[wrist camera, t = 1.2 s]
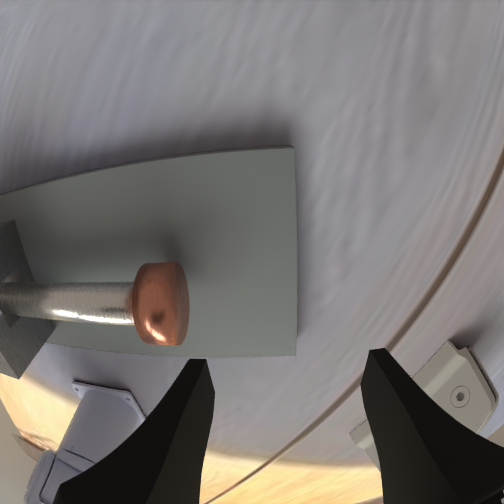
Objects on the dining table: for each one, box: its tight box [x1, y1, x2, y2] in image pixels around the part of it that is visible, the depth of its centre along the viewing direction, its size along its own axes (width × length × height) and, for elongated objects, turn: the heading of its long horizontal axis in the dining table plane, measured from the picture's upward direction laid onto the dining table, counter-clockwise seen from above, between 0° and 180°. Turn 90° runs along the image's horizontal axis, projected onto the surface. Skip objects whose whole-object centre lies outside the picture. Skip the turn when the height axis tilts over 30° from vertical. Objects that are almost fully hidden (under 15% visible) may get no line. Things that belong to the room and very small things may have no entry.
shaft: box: [0, 262, 190, 346], centre depth 15 cm, size 4×15×4 cm, turn 94°
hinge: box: [349, 340, 499, 472], centre depth 22 cm, size 17×5×10 cm, turn 156°
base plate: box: [0, 146, 297, 357], centre depth 19 cm, size 14×26×2 cm, turn 94°
